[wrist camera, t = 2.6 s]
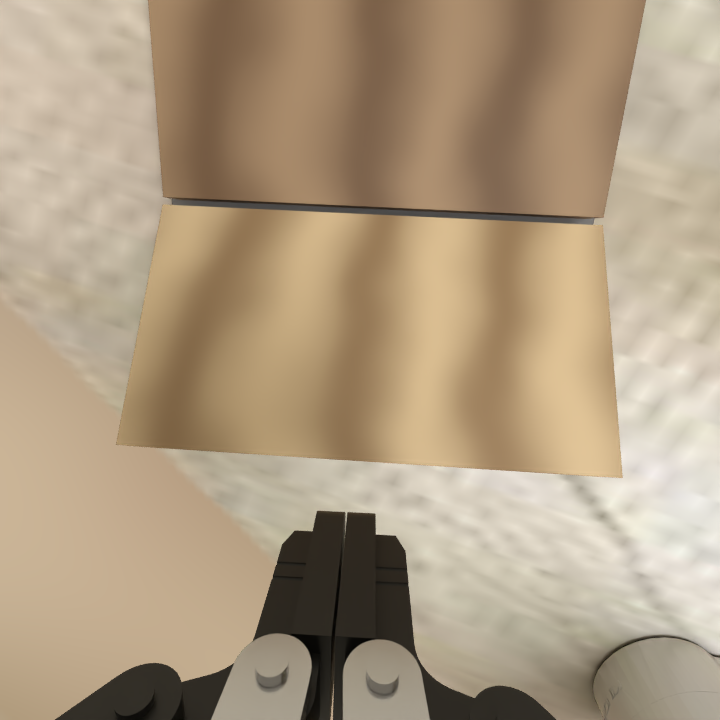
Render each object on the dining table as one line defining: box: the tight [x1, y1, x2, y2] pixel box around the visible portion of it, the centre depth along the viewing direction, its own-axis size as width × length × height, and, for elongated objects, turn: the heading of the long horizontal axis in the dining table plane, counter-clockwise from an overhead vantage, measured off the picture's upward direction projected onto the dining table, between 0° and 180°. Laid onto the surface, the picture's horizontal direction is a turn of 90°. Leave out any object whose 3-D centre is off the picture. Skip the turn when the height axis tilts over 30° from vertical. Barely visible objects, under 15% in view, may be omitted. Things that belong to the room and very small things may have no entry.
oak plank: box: [116, 205, 623, 478], centre depth 21 cm, size 22×12×2 cm, turn 87°
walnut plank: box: [148, 0, 646, 219], centre depth 21 cm, size 22×12×2 cm, turn 87°
